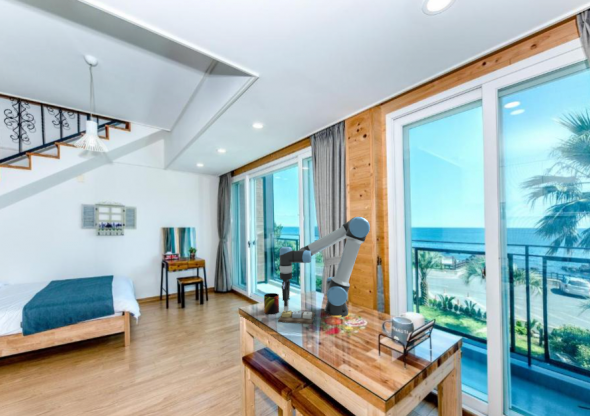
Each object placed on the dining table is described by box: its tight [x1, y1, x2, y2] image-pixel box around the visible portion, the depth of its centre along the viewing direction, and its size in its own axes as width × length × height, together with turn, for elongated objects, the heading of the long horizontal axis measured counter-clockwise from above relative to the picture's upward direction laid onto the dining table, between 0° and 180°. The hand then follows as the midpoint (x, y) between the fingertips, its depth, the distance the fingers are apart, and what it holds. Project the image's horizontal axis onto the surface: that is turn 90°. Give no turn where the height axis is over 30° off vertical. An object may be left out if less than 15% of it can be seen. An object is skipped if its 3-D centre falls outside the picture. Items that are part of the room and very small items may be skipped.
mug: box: [263, 292, 280, 316], centre depth 175 cm, size 10×14×12 cm
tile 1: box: [281, 310, 293, 318], centre depth 162 cm, size 5×5×4 cm
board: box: [277, 311, 316, 325], centre depth 161 cm, size 20×14×2 cm
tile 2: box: [303, 311, 313, 319], centre depth 160 cm, size 5×5×4 cm
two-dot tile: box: [292, 310, 303, 318], centre depth 161 cm, size 5×5×4 cm
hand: (286, 310), depth 162 cm, fingers closed
